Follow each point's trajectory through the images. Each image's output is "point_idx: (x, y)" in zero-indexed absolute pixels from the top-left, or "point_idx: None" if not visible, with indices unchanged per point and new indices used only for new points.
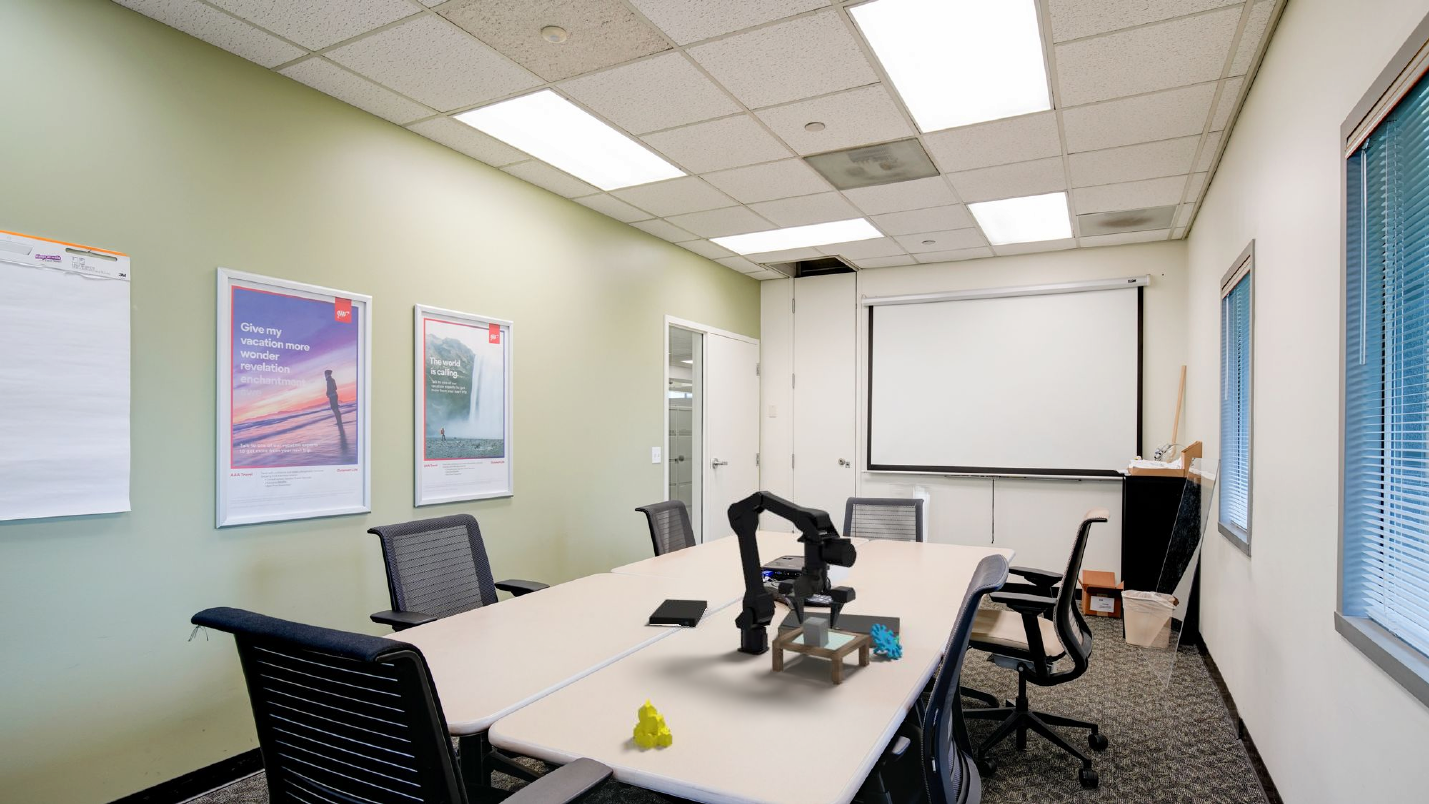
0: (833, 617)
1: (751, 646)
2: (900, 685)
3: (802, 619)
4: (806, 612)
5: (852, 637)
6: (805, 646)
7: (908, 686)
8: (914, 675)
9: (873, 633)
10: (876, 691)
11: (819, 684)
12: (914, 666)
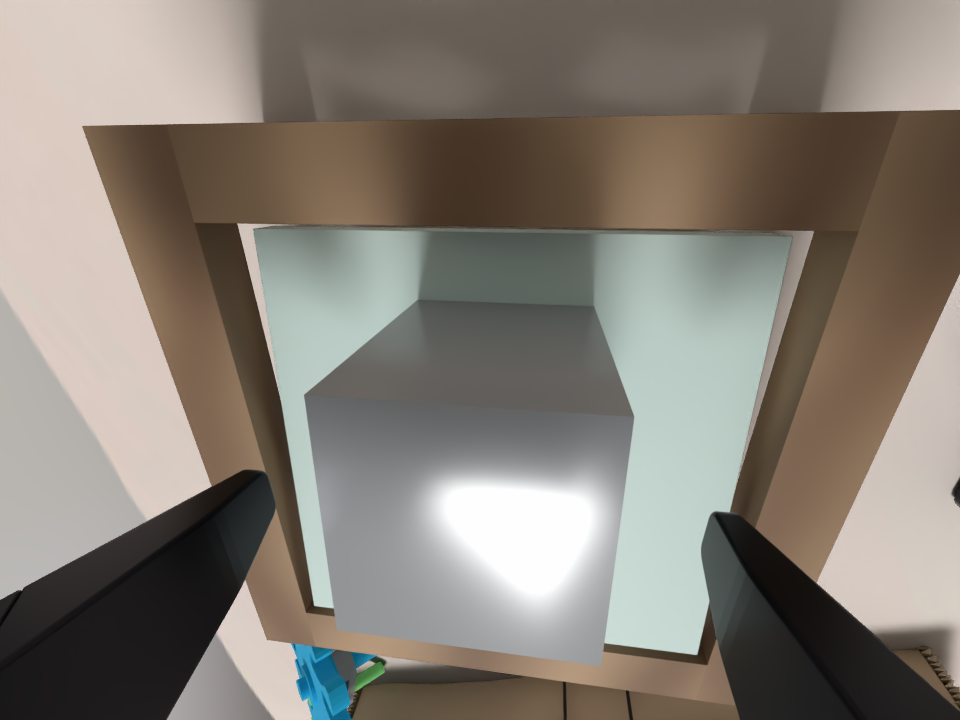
0: (50, 580)
1: None
2: (60, 313)
3: (716, 592)
4: None
5: (324, 584)
6: (496, 151)
7: (31, 320)
8: (120, 459)
9: (328, 698)
10: (56, 151)
11: (359, 36)
12: None
